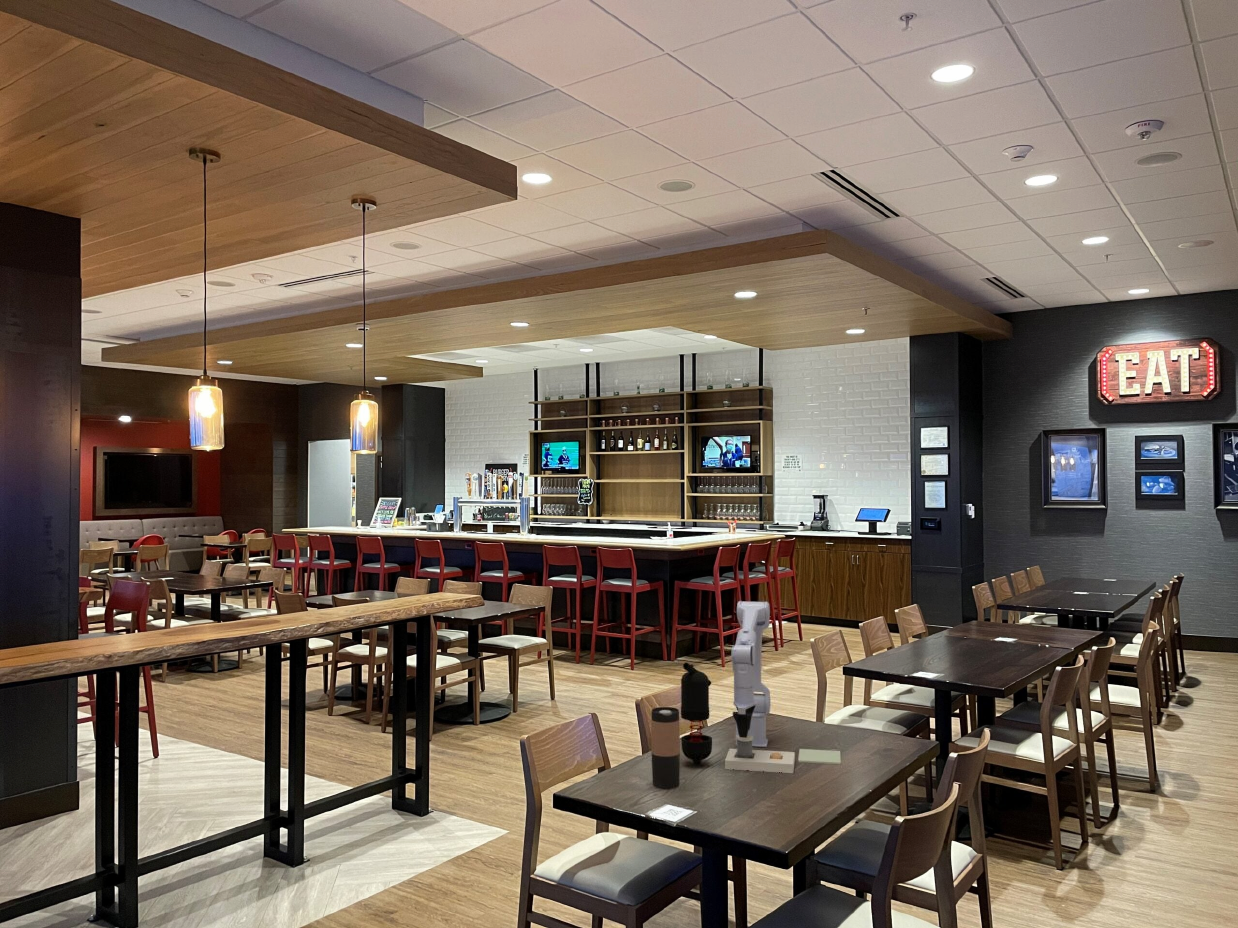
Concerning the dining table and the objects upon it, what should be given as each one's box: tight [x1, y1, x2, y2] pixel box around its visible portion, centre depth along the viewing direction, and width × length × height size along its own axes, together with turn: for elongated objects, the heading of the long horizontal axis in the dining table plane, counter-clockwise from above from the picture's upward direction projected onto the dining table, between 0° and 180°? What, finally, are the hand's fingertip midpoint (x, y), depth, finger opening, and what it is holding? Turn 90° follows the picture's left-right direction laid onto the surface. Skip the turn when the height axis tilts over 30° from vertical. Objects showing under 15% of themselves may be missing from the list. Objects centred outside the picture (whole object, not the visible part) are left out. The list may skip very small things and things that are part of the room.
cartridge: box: [735, 734, 753, 759], centre depth 261 cm, size 5×5×8 cm
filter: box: [680, 662, 713, 766], centre depth 263 cm, size 14×9×30 cm
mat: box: [797, 748, 842, 766], centre depth 267 cm, size 12×12×1 cm
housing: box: [724, 748, 796, 774], centre depth 260 cm, size 19×12×2 cm, turn 77°
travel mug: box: [650, 706, 681, 790], centre depth 244 cm, size 8×8×20 cm
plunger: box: [771, 753, 781, 759], centre depth 259 cm, size 3×3×2 cm
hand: (744, 733), depth 262 cm, fingers open, 7 cm apart
